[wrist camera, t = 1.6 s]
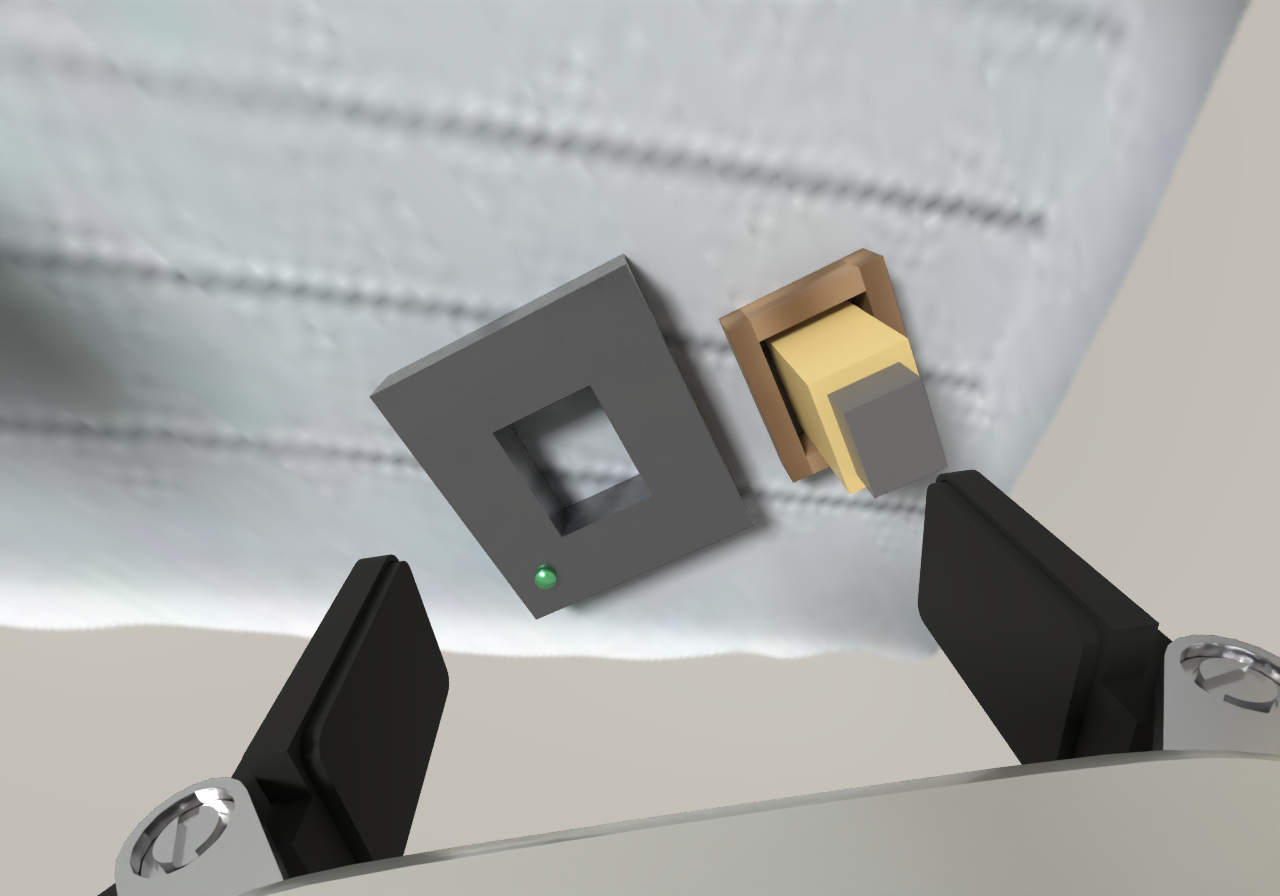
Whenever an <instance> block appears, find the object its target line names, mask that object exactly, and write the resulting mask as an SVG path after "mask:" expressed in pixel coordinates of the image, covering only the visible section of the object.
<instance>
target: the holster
mask: <svg viewBox="0 0 1280 896" xmlns="http://www.w3.org/2000/svg"><path fill="white" fill-rule="evenodd" d="M852 297H853V299H854V302H855V305H856V306H857V307H858V308H860V309H861V310H863V311H865V312H866V313H868V314H869V315H871V316H873V317H874V318H876V319H877V320H879V321H881V322H882V323H884V324H885V325H887V326H889V327H890V328H892V329H893V330H895V331H897V332H898V333H900V334H902V335H903V336H905V337H906V338H907V335H906V332H905V329H904V325H903V322H902V318H901V315H900V312H899V308H898V305H897V302H896V298H895V295H894V292H893V288H892V285H891V281H890V278H889V275H888V271H887V268H886V265H885V261H884V258H883V256H881V255H879V254H876V253H873V252H871V251H868V250H866V249H863V248H862V249H860V250H858V251H856V252H854V253H852V254H850V255H848V256H846V257H844V258H842V259H840V260H838V261H836V262H834V263H832V264H830V265H828V266H826V267H824V268H822V269H820V270H818V271H815V272H813V273H811V274H809V275H807V276H805V277H803V278H801V279H799V280H797V281H795V282H793V283H791V284H789V285H787V286H785V287H783V288H781V289H779V290H777V291H775V292H773V293H771V294H769V295H767V296H764V297H762V298H760V299H758V300H756V301H754V302H752V303H750V304H748V305H746V306H744V307H742V308H740V309H738V310H736V311H734V312H732V313H730V314H728V315H726V316H724V317H722V318H720V319H719V321H720V323H721V325H722V328H723V330H724V332H725V335H726V337H727V339H728V341H729V344H730V346H731V348H732V351H733V353H734V355H735V357H736V360H737V362H738V364H739V367H740V369H741V371H742V373H743V376H744V378H745V380H746V383H747V385H748V387H749V389H750V392H751V394H752V396H753V399H754V401H755V403H756V405H757V408H758V410H759V412H760V415H761V417H762V419H763V422H764V424H765V426H766V428H767V431H768V433H769V435H770V438H771V440H772V442H773V444H774V447H775V449H776V451H777V454H778V456H779V458H780V460H781V463H782V464H783V466H784V468H785V470H786V471H787V473H788V475H789V476H790V478H791V480H792V482H793V483H794V482H796V481H799V480H801V479H803V478H805V477H808V476H810V475H812V474H814V473H817V472H819V471H821V470H824V469H826V468H828V467H830V466H829V465H828V463H827V462H826V460H825V459H824V458H823V456H822V455H821V454H820V452H819V451H818V449H817V448H816V447H815V445H814V444H813V442H812V441H811V440H810V438H809V437H808V436H807V434H806V433H805V432H804V433H802V434H800V435H797V433H796V431H795V428H794V426H793V423H792V421H791V418H790V416H789V414H788V411H787V409H786V406H785V404H784V401H783V399H782V397H781V394H780V392H779V389H778V387H777V385H776V382H775V380H774V377H773V375H772V372H771V370H770V368H769V365H768V363H767V360H766V358H765V356H764V353H763V351H762V348H761V346H760V343H759V342H760V341H762V340H764V339H766V338H769V337H771V336H773V335H775V334H777V333H779V332H781V331H783V330H785V329H787V328H789V327H791V326H794V325H796V324H798V323H800V322H802V321H804V320H806V319H808V318H810V317H812V316H814V315H817V314H819V313H821V312H823V311H825V310H827V309H829V308H831V307H833V306H835V305H837V304H839V303H842V302H844V301H846V300H848V299H850V298H852Z"/></svg>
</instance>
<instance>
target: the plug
mask: <svg viewBox="0 0 1280 896" xmlns="http://www.w3.org/2000/svg"><path fill="white" fill-rule="evenodd" d="M765 341H766V344H767V346H768V349H769V351H770V353H771V356H772V358H773V361H774V363H775V366H776V368H777V371H778V373H779V376H780V378H781V380H782V383H783V385H784V388H785V390H786V393H787V395H788V398H789V400H790V403H791V405H792V407H793V410H794V412H795V415H796V417H797V420H798V422H799V424H800V426H801V427H802V429H803V430H804V431H805V433H806V434H807V436H808V437H809V438H810V440H811V441H812V442H813V444H814V445H815V447H816V448H817V449H818V451H819V452H820V454H821V455H822V456H823V458H824V459H825V460H826V462H827V463H828V465H829V466H830V467H831V469H832V470H833V472H834V473H835V474H836V476H837V477H838V479H839V480H840V481H841V483H842V484H843V485H844V487H845V488H846V490H847V491H848V492H849V494H852V493H854V492H857V491H859V490H861V489H864V488H866V487H867V489H868V490H869V491H870V492H871V494H872V495H873V496H874V498H876V497H878V496H881V495H883V494H885V493H888V492H890V491H893V490H895V489H897V488H900V487H902V486H904V485H907V484H909V483H911V482H914V481H916V480H918V479H921V478H923V477H925V476H928V475H930V474H932V473H935V472H937V471H939V470H942V469H944V468H946V467H948V465H947V462H946V459H945V455H944V452H943V448H942V445H941V442H940V438H939V435H938V432H937V428H936V425H935V421H934V418H933V415H932V411H931V408H930V404H929V401H928V398H927V394H926V391H925V387H924V384H923V381H922V378H921V377H920V376H919V374H918V370H917V367H916V364H915V360H914V357H913V354H912V350H911V347H910V343H909V340H908V338H906V337H905V336H903V335H902V334H900V333H898V332H897V331H895V330H893V329H892V328H890V327H889V326H887V325H885V324H884V323H882V322H881V321H879V320H877V319H876V318H874V317H873V316H871V315H869V314H868V313H866V312H865V311H863V310H861V309H860V308H858V307H857V306H855V305H853V304H852V303H850V302H849V301H847V300H846V301H844V302H842V303H839V304H837V305H835V306H833V307H831V308H829V309H827V310H825V311H823V312H821V313H819V314H817V315H814V316H812V317H810V318H808V319H806V320H804V321H802V322H800V323H798V324H796V325H794V326H791V327H789V328H787V329H785V330H783V331H781V332H779V333H777V334H775V335H773V336H771V337H769V338H766V339H765Z"/></svg>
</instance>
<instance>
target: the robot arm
mask: <svg viewBox="0 0 1280 896" xmlns="http://www.w3.org/2000/svg"><path fill="white" fill-rule="evenodd" d="M918 608H919V613H920V616H921V618H922V621H923V622H924V624H925V625H926V627H927V628H928V630H929V631H930V633H931V634H932V636H933V637H934V638H935V640H936V641H937V643H938V644H939V646H940V647H941V649H942V650H943V651H944V653H945V654H946V656H947V657H948V659H949V660H950V661H951V663H952V664H953V666H954V667H955V669H956V670H957V672H958V673H959V674H960V676H961V677H962V679H963V680H964V682H965V683H966V685H967V686H968V688H969V689H970V690H971V692H972V693H973V695H974V696H975V697H976V699H977V700H978V702H979V703H980V705H981V706H982V708H983V709H984V711H985V712H986V713H987V715H988V716H989V718H990V719H991V721H992V722H993V724H994V725H995V726H996V728H997V729H998V731H999V732H1000V734H1001V735H1002V736H1003V738H1004V739H1005V741H1006V742H1007V743H1008V745H1009V747H1010V748H1011V749H1012V751H1013V752H1014V754H1015V755H1016V757H1017V758H1018V760H1019V761H1020V763H1021V764H1022V765H1017V766H1009V767H1000V768H993V769H986V770H979V771H971V772H964V773H958V774H950V775H943V776H936V777H929V778H922V779H914V780H907V781H900V782H893V783H886V784H878V785H871V786H864V787H857V788H850V789H844V790H836V791H829V792H822V793H815V794H809V795H801V796H794V797H787V798H780V799H773V800H767V801H760V802H753V803H746V804H740V805H732V806H725V807H719V808H712V809H705V810H698V811H691V812H684V813H678V814H671V815H665V816H658V817H651V818H644V819H637V820H630V821H623V822H617V823H611V824H604V825H597V826H591V827H584V828H578V829H571V830H564V831H558V832H551V833H545V834H538V835H532V836H525V837H518V838H512V839H505V840H498V841H492V842H485V843H479V844H472V845H466V846H460V847H454V848H448V849H442V850H435V851H430V852H424V853H418V854H412V855H406V856H403V854H404V850H405V847H406V844H407V840H408V836H409V833H410V829H411V825H412V822H413V818H414V814H415V811H416V807H417V804H418V800H419V796H420V793H421V789H422V785H423V782H424V778H425V775H426V771H427V767H428V763H429V760H430V756H431V752H432V749H433V746H434V742H435V738H436V735H437V731H438V727H439V724H440V720H441V716H442V713H443V709H444V706H445V702H446V698H447V695H448V690H449V676H448V672H447V668H446V666H445V663H444V660H443V657H442V655H441V652H440V649H439V646H438V643H437V641H436V638H435V635H434V632H433V630H432V627H431V624H430V621H429V619H428V616H427V613H426V610H425V607H424V605H423V602H422V599H421V596H420V594H419V591H418V588H417V585H416V583H415V580H414V577H413V574H412V572H411V569H410V567H409V564H408V563H407V562H406V561H400V562H399V561H398V559H397V558H396V556H394V555H385V556H378V557H371V558H364V559H360V560H358V561H357V563H356V564H355V566H354V567H353V569H352V571H351V572H350V574H349V576H348V578H347V579H346V581H345V583H344V584H343V586H342V588H341V589H340V591H339V593H338V595H337V596H336V598H335V600H334V601H333V603H332V605H331V607H330V608H329V610H328V612H327V613H326V615H325V617H324V619H323V620H322V622H321V624H320V625H319V627H318V629H317V630H316V632H315V634H314V636H313V637H312V639H311V641H310V643H309V644H308V646H307V648H306V649H305V651H304V653H303V654H302V656H301V658H300V660H299V661H298V663H297V665H296V666H295V668H294V670H293V671H292V673H291V675H290V677H289V678H288V680H287V682H286V683H285V685H284V687H283V688H282V690H281V692H280V694H279V695H278V697H277V699H276V701H275V702H274V704H273V706H272V708H271V709H270V711H269V713H268V714H267V716H266V718H265V720H264V721H263V723H262V724H261V726H260V728H259V730H258V731H257V733H256V735H255V736H254V738H253V740H252V742H251V743H250V745H249V747H248V748H247V750H246V752H245V753H244V755H243V757H242V760H241V762H240V763H239V765H238V767H237V769H236V771H235V772H234V774H233V775H232V777H231V778H229V777H222V778H211V779H208V780H205V781H202V782H199V783H196V784H193V785H191V786H189V787H187V788H185V789H184V790H182V791H180V792H178V793H176V794H174V795H173V796H171V797H170V798H169V799H167V800H166V801H165V802H163V803H162V804H160V805H159V806H157V807H156V808H155V809H154V810H153V811H152V812H151V813H150V814H149V815H148V816H146V817H145V818H144V819H143V820H142V821H141V822H140V823H139V824H138V825H137V827H136V828H135V829H134V831H133V832H132V833H131V835H130V836H129V837H128V838H127V840H126V841H125V842H124V845H123V847H122V849H121V851H120V853H119V855H118V857H117V859H116V867H115V881H116V883H115V884H113V885H112V886H111V887H109V888H108V889H107V890H105V891H104V892H102V893H101V894H100V895H98V896H1280V657H1278V656H1276V655H1274V654H1272V653H1270V652H1268V651H1266V650H1264V649H1262V648H1260V647H1257V646H1254V645H1251V644H1248V643H1245V642H1242V641H1239V640H1236V639H1231V638H1225V637H1219V636H1215V635H1190V636H1186V637H1181V638H1178V639H1176V640H1175V641H1173V642H1172V641H1171V640H1170V639H1169V638H1168V637H1166V636H1165V635H1164V634H1163V633H1162V632H1161V631H1159V630H1158V626H1159V623H1158V622H1157V621H1156V620H1154V619H1153V618H1152V617H1151V616H1150V615H1149V614H1148V613H1146V612H1145V611H1144V610H1143V609H1142V608H1140V607H1139V606H1138V605H1136V604H1135V603H1134V602H1133V601H1132V600H1131V599H1129V598H1128V597H1127V596H1126V595H1125V594H1124V593H1122V592H1121V591H1120V590H1119V589H1118V588H1117V587H1115V586H1114V585H1113V584H1112V583H1111V582H1109V581H1108V580H1107V579H1106V578H1105V577H1103V576H1102V575H1101V574H1100V573H1098V572H1097V571H1096V570H1095V569H1094V568H1093V567H1091V566H1090V565H1089V564H1088V563H1087V562H1086V561H1084V560H1083V559H1082V558H1081V557H1080V556H1078V555H1077V554H1076V553H1075V552H1073V551H1072V550H1071V549H1070V548H1069V547H1068V546H1066V545H1065V544H1064V543H1063V542H1061V540H1059V539H1058V538H1057V537H1056V536H1054V535H1053V534H1052V533H1051V532H1050V531H1049V530H1047V529H1046V528H1045V527H1044V526H1043V525H1041V524H1040V523H1039V522H1038V521H1037V520H1035V519H1034V518H1033V517H1032V516H1031V515H1030V514H1028V513H1027V512H1026V511H1025V510H1024V509H1022V508H1021V507H1020V506H1019V505H1018V504H1016V503H1015V502H1014V501H1013V500H1012V499H1010V498H1009V497H1008V496H1007V495H1006V494H1004V493H1003V492H1002V491H1001V490H1000V489H999V488H997V487H996V486H995V485H994V484H993V483H991V482H990V481H989V480H988V479H987V478H985V477H984V476H983V475H982V474H981V473H979V472H978V471H976V470H965V471H959V472H952V473H945V474H941V475H939V476H938V478H937V479H936V483H932V484H930V485H929V487H928V489H927V496H926V509H925V521H924V533H923V545H922V557H921V569H920V582H919V594H918Z"/></svg>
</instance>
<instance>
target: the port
mask: <svg viewBox="0 0 1280 896" xmlns="http://www.w3.org/2000/svg"><path fill="white" fill-rule="evenodd" d="M589 385H590V386H591V388H592V390H593V392H594V393H595V395H596V397H597V399H598V401H599V402H600V404H601V406H602V408H603V409H604V411H605V413H606V415H607V416H608V418H609V420H610V422H611V424H612V425H613V427H614V429H615V431H616V432H617V434H618V436H619V438H620V440H621V441H622V443H623V445H624V447H625V448H626V450H627V452H628V454H629V456H630V457H631V459H632V461H633V463H634V464H635V466H636V468H637V470H638V471H639V473H640V474H639V475H637V476H635V477H633V478H631V479H628V480H626V481H624V482H622V483H620V484H618V485H615V486H613V487H611V488H609V489H607V490H605V491H602V492H600V493H598V494H596V495H594V496H592V497H589V498H587V499H585V500H583V501H581V502H578V503H576V504H574V505H572V506H570V507H568V508H565V509H564V507H563V506H562V504H561V503H560V501H559V500H558V498H557V496H556V495H555V493H554V492H553V490H552V489H551V487H550V486H549V484H548V483H547V481H546V480H545V478H544V476H543V475H542V473H541V472H540V470H539V469H538V467H537V466H536V464H535V463H534V461H533V459H532V458H531V456H530V455H529V453H528V452H527V450H526V449H525V447H524V446H523V444H522V442H521V441H520V439H519V438H518V436H517V435H516V433H515V432H514V430H513V429H512V427H511V426H510V424H512V423H514V422H516V421H518V420H520V419H522V418H524V417H526V416H528V415H530V414H532V413H534V412H536V411H538V410H540V409H542V408H544V407H546V406H548V405H550V404H552V403H554V402H557V401H559V400H561V399H563V398H565V397H567V396H569V395H571V394H573V393H575V392H577V391H579V390H581V389H583V388H585V387H587V386H589ZM370 398H371V399H372V401H373V402H374V403H375V405H376V406H377V407H378V409H379V410H380V411H381V413H382V414H383V415H384V417H385V418H386V419H387V421H388V422H389V423H390V425H391V426H392V427H393V429H394V430H395V431H396V433H397V434H398V435H399V437H400V438H401V439H402V441H403V442H404V443H405V445H406V446H407V447H408V449H409V450H410V451H411V453H412V454H413V455H414V457H415V458H416V459H417V461H418V462H419V463H420V465H421V466H422V468H423V469H424V470H425V472H426V473H427V474H428V476H429V477H430V478H431V480H432V481H433V482H434V484H435V485H436V486H437V488H438V489H439V490H440V492H441V493H442V494H443V496H444V497H445V498H446V500H447V501H448V502H449V504H450V505H451V506H452V508H453V509H454V510H455V512H456V513H457V514H458V516H459V517H460V518H461V520H462V521H463V522H464V524H465V525H466V526H467V528H468V529H469V530H470V532H471V533H472V534H473V536H474V537H475V538H476V540H477V541H478V542H479V544H480V545H481V546H482V548H483V549H484V550H485V552H486V553H487V554H488V556H489V557H490V558H491V560H492V561H493V562H494V564H495V565H496V566H497V568H498V569H499V570H500V572H501V573H502V574H503V576H504V577H505V578H506V580H507V581H508V583H509V584H510V585H511V587H512V588H513V589H514V591H515V592H516V593H517V595H518V596H519V597H520V599H521V600H522V601H523V603H524V604H525V605H526V607H527V608H528V609H529V611H530V612H531V613H532V615H533V616H534V617H535V619H536V620H537V619H539V618H541V617H543V616H546V615H548V614H550V613H553V612H555V611H557V610H560V609H562V608H564V607H567V606H569V605H571V604H573V603H576V602H578V601H580V600H583V599H585V598H587V597H590V596H592V595H594V594H596V593H599V592H601V591H603V590H606V589H608V588H610V587H613V586H615V585H617V584H620V583H622V582H624V581H626V580H629V579H631V578H633V577H636V576H638V575H640V574H643V573H645V572H647V571H649V570H652V569H654V568H656V567H659V566H661V565H663V564H666V563H668V562H670V561H673V560H675V559H677V558H679V557H682V556H684V555H686V554H689V553H691V552H693V551H696V550H698V549H700V548H702V547H705V546H707V545H709V544H712V543H714V542H716V541H719V540H721V539H723V538H726V537H728V536H730V535H732V534H735V533H737V532H739V531H742V530H744V529H746V528H749V527H751V526H753V524H752V521H751V519H750V516H749V514H748V512H747V509H746V507H745V504H744V502H743V499H742V497H741V495H740V493H739V491H738V489H737V487H736V485H735V483H734V481H733V479H732V476H731V474H730V472H729V470H728V468H727V466H726V464H725V462H724V460H723V458H722V456H721V454H720V452H719V450H718V448H717V446H716V444H715V441H714V439H713V437H712V435H711V433H710V431H709V429H708V427H707V425H706V423H705V421H704V419H703V417H702V415H701V413H700V411H699V408H698V406H697V404H696V402H695V400H694V398H693V396H692V394H691V392H690V390H689V388H688V386H687V384H686V382H685V380H684V378H683V376H682V373H681V371H680V369H679V367H678V365H677V363H676V361H675V359H674V357H673V355H672V353H671V351H670V349H669V347H668V345H667V343H666V340H665V338H664V336H663V334H662V332H661V330H660V328H659V326H658V324H657V322H656V320H655V318H654V316H653V314H652V312H651V310H650V308H649V305H648V303H647V301H646V299H645V297H644V295H643V293H642V291H641V289H640V287H639V285H638V283H637V281H636V279H635V277H634V275H633V273H632V270H631V268H630V266H629V264H628V262H627V260H626V258H625V256H624V254H622V255H620V256H618V257H617V258H615V259H613V260H611V261H609V262H607V263H605V264H603V265H601V266H599V267H597V268H595V269H593V270H592V271H590V272H588V273H586V274H584V275H582V276H580V277H578V278H576V279H574V280H572V281H570V282H568V283H566V284H565V285H563V286H561V287H559V288H557V289H555V290H553V291H551V292H549V293H547V294H545V295H543V296H541V297H540V298H538V299H536V300H534V301H532V302H530V303H528V304H526V305H524V306H522V307H520V308H518V309H516V310H514V311H513V312H511V313H509V314H507V315H505V316H503V317H501V318H499V319H497V320H495V321H493V322H491V323H489V324H488V325H486V326H484V327H482V328H480V329H478V330H476V331H474V332H472V333H470V334H468V335H466V336H464V337H463V338H461V339H459V340H457V341H455V342H453V343H451V344H449V345H447V346H445V347H443V348H441V349H439V350H437V351H436V352H434V353H432V354H430V355H428V356H426V357H424V358H422V359H420V360H418V361H416V362H414V363H412V364H411V365H409V366H407V367H405V368H403V369H401V370H399V371H397V372H395V373H393V374H391V375H389V376H388V377H387V378H386V379H385V380H384V381H383V382H382V383H381V385H380V386H379V387H378V388H377V389H376V390H375V391H374V392H373V393H372V394H371V395H370Z"/></svg>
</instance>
